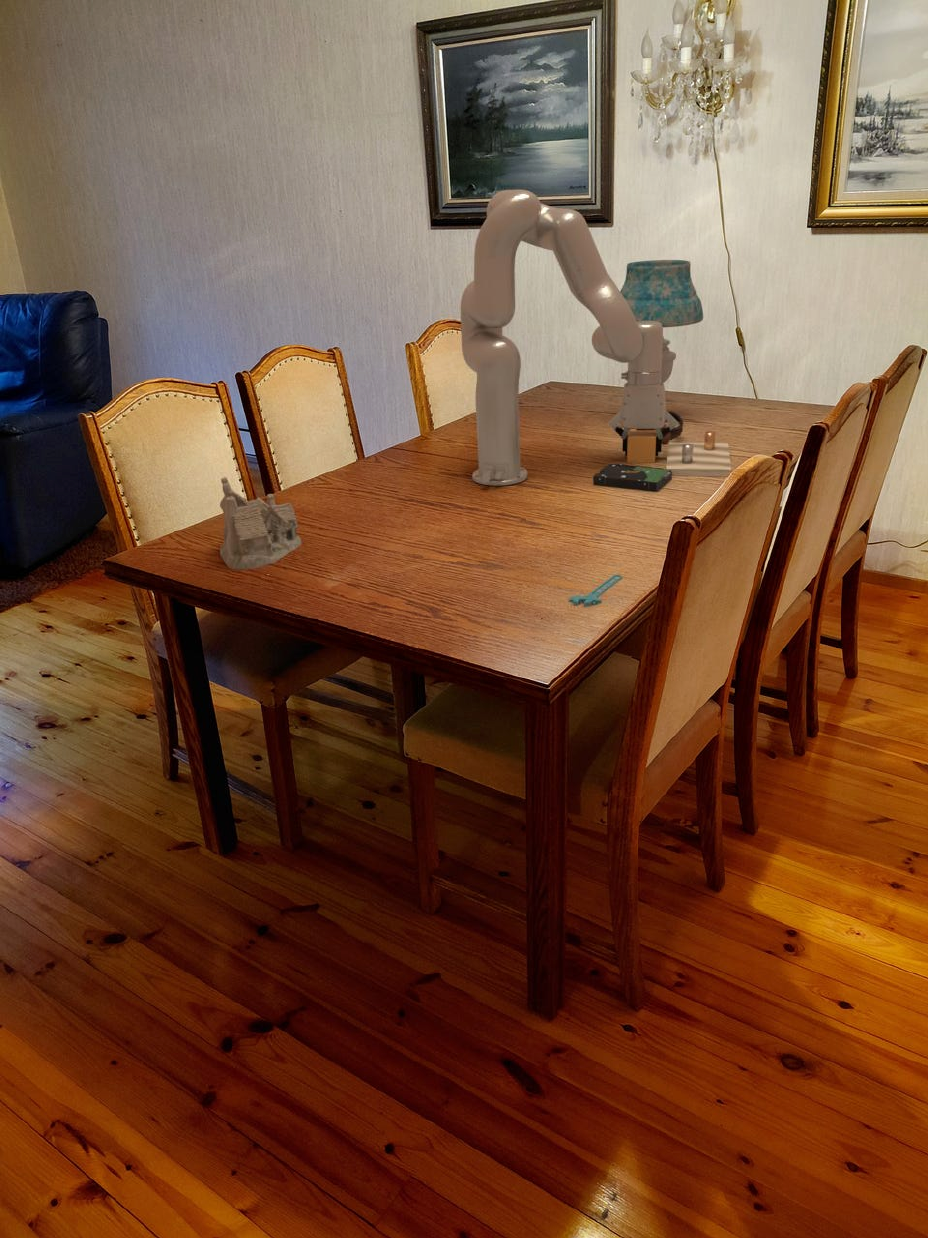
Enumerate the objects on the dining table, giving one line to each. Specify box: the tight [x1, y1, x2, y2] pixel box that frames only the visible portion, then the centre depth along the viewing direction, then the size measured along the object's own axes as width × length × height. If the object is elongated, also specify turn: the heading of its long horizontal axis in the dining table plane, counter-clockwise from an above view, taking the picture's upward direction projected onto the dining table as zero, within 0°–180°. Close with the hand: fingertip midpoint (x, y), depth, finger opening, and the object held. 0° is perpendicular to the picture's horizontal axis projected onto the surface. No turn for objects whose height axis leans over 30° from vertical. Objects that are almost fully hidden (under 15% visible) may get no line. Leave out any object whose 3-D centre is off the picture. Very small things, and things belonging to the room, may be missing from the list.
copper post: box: [703, 430, 717, 451], centre depth 216 cm, size 2×2×4 cm
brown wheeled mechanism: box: [635, 409, 684, 445], centre depth 231 cm, size 12×10×8 cm
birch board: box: [666, 442, 732, 478], centre depth 213 cm, size 22×14×2 cm, turn 167°
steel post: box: [682, 444, 694, 464], centre depth 207 cm, size 2×2×4 cm
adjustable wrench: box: [568, 574, 623, 607], centre depth 151 cm, size 14×1×5 cm
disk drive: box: [592, 463, 673, 493], centre depth 202 cm, size 10×3×15 cm
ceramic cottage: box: [219, 476, 302, 571], centre depth 173 cm, size 16×16×15 cm
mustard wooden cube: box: [626, 429, 657, 464], centre depth 216 cm, size 6×6×6 cm
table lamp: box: [619, 259, 704, 422], centre depth 243 cm, size 24×24×40 cm
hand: (641, 453), depth 217 cm, fingers closed on mustard wooden cube, 6 cm apart
